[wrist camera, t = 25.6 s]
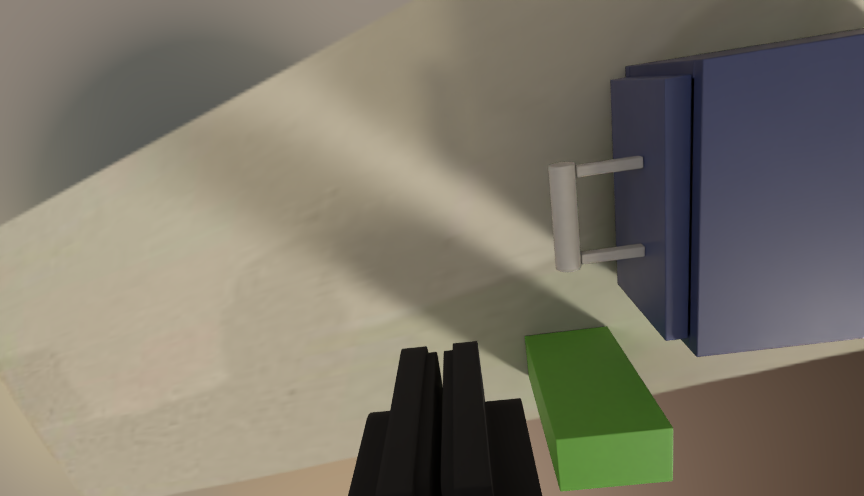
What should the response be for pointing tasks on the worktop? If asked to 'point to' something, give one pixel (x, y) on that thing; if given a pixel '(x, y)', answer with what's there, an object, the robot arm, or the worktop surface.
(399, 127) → the worktop surface
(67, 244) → the worktop surface
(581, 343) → the green rectangular box
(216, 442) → the worktop surface
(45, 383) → the worktop surface
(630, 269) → the drawer
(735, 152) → the cabinet
